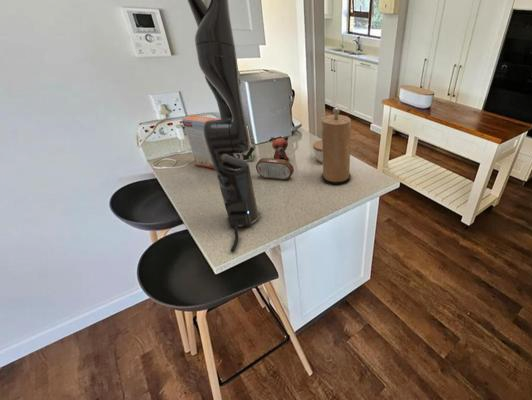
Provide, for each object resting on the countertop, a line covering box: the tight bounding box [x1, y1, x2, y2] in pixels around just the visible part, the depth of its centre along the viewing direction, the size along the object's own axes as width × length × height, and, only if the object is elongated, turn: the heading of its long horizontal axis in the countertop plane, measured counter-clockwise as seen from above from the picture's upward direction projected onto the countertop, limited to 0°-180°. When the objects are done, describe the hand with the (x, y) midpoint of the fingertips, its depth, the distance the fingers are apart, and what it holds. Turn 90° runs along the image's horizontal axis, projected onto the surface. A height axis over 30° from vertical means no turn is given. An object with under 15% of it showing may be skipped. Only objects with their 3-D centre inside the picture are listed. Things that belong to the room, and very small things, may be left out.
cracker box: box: [181, 114, 221, 170], centre depth 116 cm, size 14×6×21 cm, turn 74°
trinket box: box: [312, 139, 323, 164], centre depth 129 cm, size 11×11×9 cm
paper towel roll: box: [321, 106, 352, 186], centre depth 110 cm, size 12×12×30 cm
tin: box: [255, 157, 295, 181], centre depth 113 cm, size 15×3×8 cm, turn 84°
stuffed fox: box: [270, 136, 290, 162], centre depth 126 cm, size 8×11×12 cm
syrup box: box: [245, 125, 254, 162], centre depth 125 cm, size 6×6×14 cm
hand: (242, 168), depth 112 cm, fingers closed
